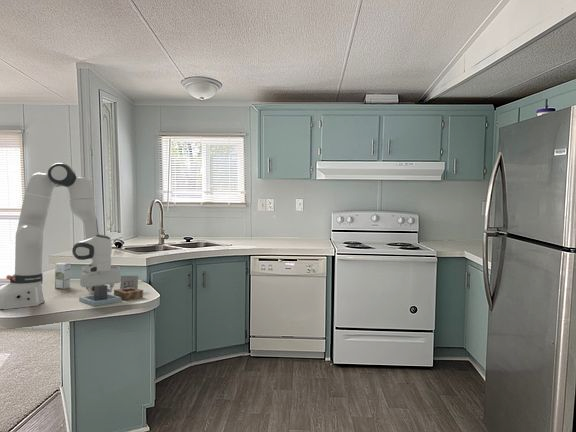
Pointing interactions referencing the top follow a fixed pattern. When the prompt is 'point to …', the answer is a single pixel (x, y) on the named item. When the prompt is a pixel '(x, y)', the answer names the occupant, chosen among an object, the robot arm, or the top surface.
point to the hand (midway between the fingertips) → (100, 293)
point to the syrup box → (62, 275)
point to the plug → (100, 292)
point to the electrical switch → (129, 282)
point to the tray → (95, 303)
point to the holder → (128, 293)
